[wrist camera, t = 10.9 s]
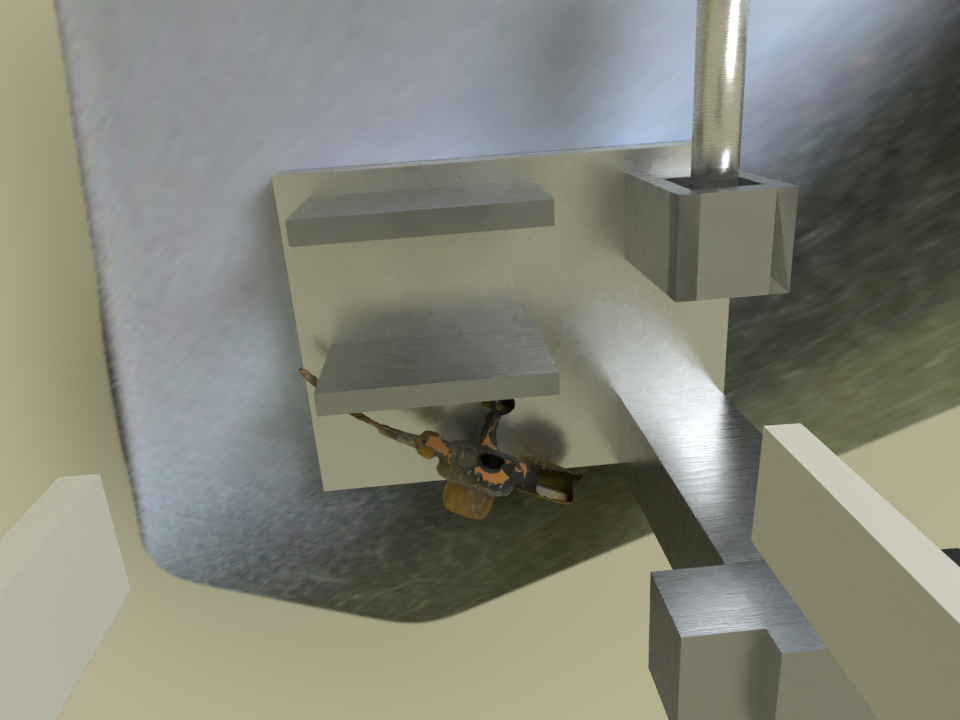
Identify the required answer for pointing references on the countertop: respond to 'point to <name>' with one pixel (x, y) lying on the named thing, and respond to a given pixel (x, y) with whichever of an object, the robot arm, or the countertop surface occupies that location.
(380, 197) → the press
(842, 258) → the countertop surface
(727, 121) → the lever
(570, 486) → the regulator
